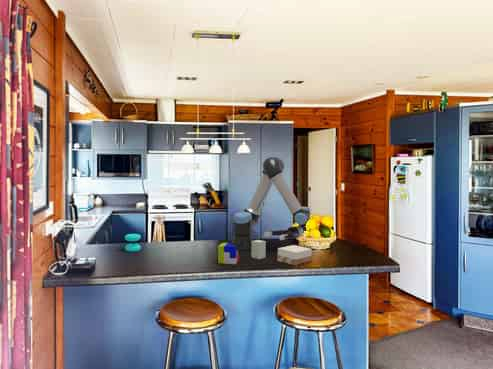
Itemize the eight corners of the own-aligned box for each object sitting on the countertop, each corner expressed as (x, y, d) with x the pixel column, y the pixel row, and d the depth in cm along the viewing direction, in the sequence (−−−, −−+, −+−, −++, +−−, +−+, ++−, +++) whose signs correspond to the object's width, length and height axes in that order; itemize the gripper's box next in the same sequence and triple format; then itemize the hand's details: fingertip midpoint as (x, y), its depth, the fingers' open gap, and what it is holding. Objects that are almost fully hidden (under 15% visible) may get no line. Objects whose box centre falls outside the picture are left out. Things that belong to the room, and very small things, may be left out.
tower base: (277, 261, 242) (277, 255, 242) (293, 257, 252) (293, 251, 251) (295, 266, 232) (295, 259, 232) (311, 262, 241) (311, 255, 241)
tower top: (277, 255, 242) (277, 248, 242) (293, 251, 251) (293, 245, 251) (295, 259, 232) (296, 252, 231) (311, 255, 241) (311, 249, 241)
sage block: (251, 257, 250) (251, 241, 249) (258, 255, 254) (258, 239, 253) (258, 259, 246) (258, 242, 245) (265, 257, 250) (265, 241, 249)
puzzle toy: (235, 264, 234) (235, 246, 233) (218, 263, 236) (218, 246, 235) (239, 260, 243) (239, 243, 243) (222, 259, 245) (222, 242, 245)
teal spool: (124, 233, 268) (139, 233, 272) (124, 249, 269) (139, 248, 273) (125, 236, 259) (141, 235, 263) (125, 252, 260) (141, 251, 263)
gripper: (309, 240, 261) (287, 245, 247) (281, 235, 280) (258, 239, 266) (309, 228, 261) (287, 233, 247) (280, 224, 279) (258, 228, 265)
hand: (272, 236), depth 256 cm, fingers open, 13 cm apart
